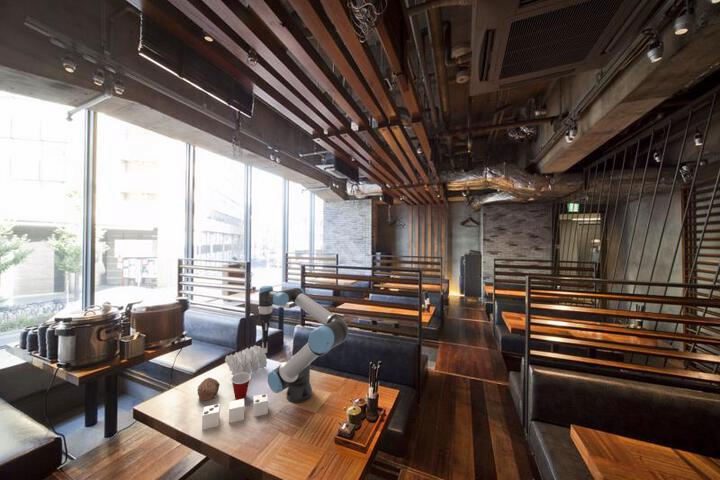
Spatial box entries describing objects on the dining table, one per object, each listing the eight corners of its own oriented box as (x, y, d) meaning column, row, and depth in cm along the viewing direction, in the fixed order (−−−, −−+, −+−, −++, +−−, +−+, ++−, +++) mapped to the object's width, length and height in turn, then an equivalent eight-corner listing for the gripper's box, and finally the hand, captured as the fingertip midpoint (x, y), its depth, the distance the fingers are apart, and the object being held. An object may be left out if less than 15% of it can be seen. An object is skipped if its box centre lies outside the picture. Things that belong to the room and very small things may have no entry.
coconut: (200, 392, 158) (200, 375, 158) (221, 389, 162) (221, 373, 162) (194, 405, 146) (194, 387, 146) (216, 402, 149) (217, 384, 149)
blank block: (243, 411, 142) (244, 398, 142) (243, 419, 136) (244, 406, 136) (229, 414, 139) (229, 401, 139) (228, 423, 133) (229, 409, 133)
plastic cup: (236, 405, 146) (237, 384, 146) (226, 398, 153) (227, 377, 153) (254, 396, 155) (255, 376, 155) (244, 390, 162) (245, 370, 162)
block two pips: (266, 406, 147) (266, 393, 147) (267, 413, 140) (268, 400, 141) (253, 409, 144) (253, 396, 144) (253, 417, 138) (253, 403, 138)
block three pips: (219, 417, 137) (219, 403, 137) (218, 425, 131) (218, 411, 131) (203, 420, 134) (204, 406, 134) (202, 429, 128) (202, 415, 128)
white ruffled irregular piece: (266, 374, 189) (233, 388, 167) (252, 357, 197) (220, 369, 176) (275, 353, 185) (243, 365, 164) (261, 337, 194) (229, 347, 173)
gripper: (258, 310, 159) (257, 349, 159) (259, 316, 147) (258, 358, 147) (271, 309, 162) (270, 347, 162) (273, 314, 150) (272, 356, 150)
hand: (264, 352), depth 155 cm, fingers closed
